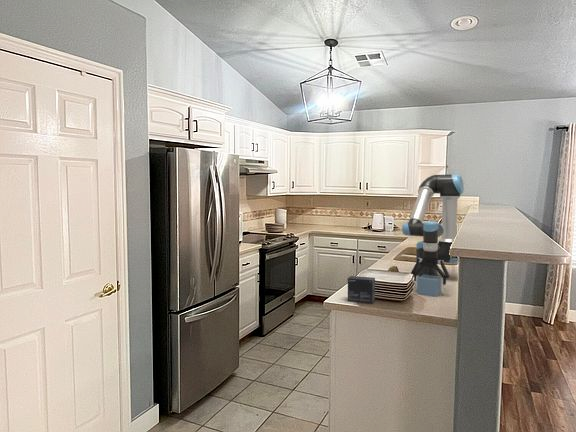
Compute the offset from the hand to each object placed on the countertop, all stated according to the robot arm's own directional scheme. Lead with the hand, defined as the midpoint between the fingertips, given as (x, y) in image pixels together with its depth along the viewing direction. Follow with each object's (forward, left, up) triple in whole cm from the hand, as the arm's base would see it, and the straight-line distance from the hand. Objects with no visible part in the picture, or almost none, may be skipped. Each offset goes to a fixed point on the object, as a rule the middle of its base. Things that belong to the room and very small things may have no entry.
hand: (429, 288), depth 229 cm
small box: (+33, -25, -3) cm, 42 cm away
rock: (-16, -28, -3) cm, 32 cm away
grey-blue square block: (0, 0, -2) cm, 2 cm away
